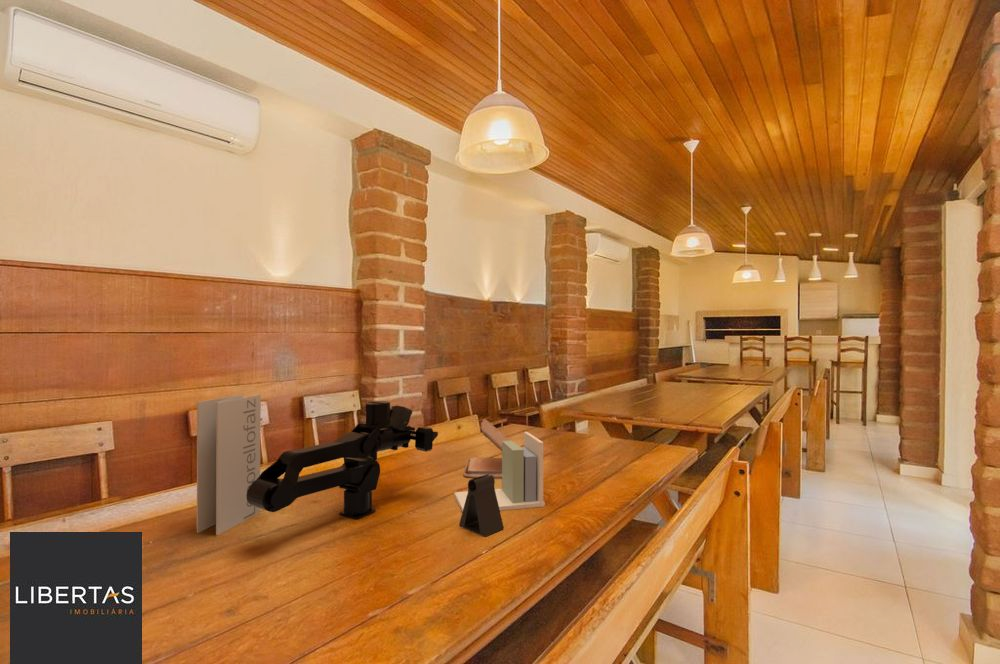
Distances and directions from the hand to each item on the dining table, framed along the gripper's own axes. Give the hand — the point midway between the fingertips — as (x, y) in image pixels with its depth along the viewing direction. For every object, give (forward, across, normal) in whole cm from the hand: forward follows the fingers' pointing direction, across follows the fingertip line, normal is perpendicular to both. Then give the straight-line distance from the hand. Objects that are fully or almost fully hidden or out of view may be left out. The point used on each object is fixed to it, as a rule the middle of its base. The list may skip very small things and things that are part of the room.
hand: (425, 431), depth 145 cm
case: (+28, -7, +16) cm, 33 cm away
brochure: (-46, +20, +19) cm, 54 cm away
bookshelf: (+3, -25, +16) cm, 30 cm away
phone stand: (-14, -32, +17) cm, 39 cm away
